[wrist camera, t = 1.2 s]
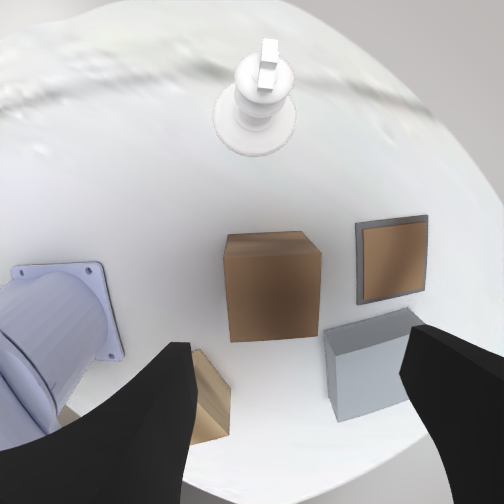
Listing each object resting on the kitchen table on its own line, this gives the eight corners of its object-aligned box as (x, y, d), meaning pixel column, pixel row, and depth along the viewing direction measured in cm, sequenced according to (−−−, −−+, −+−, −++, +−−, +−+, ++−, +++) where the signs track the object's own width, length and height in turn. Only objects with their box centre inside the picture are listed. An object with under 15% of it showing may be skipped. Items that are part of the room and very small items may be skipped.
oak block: (184, 404, 22) (176, 448, 17) (152, 367, 21) (135, 411, 16) (230, 388, 22) (229, 435, 17) (200, 348, 20) (190, 394, 16)
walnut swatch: (356, 304, 20) (358, 306, 19) (355, 223, 18) (357, 224, 18) (423, 289, 20) (425, 291, 19) (426, 214, 18) (429, 215, 18)
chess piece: (298, 84, 16) (357, 7, 6) (291, 161, 17) (351, 153, 7) (217, 76, 15) (193, -14, 6) (209, 152, 17) (167, 133, 7)
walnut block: (232, 300, 19) (230, 342, 15) (228, 234, 18) (223, 258, 13) (300, 296, 19) (317, 336, 15) (300, 230, 18) (321, 253, 13)
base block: (327, 394, 22) (337, 422, 19) (322, 328, 20) (335, 356, 17) (400, 371, 22) (417, 396, 19) (406, 305, 20) (428, 327, 17)
